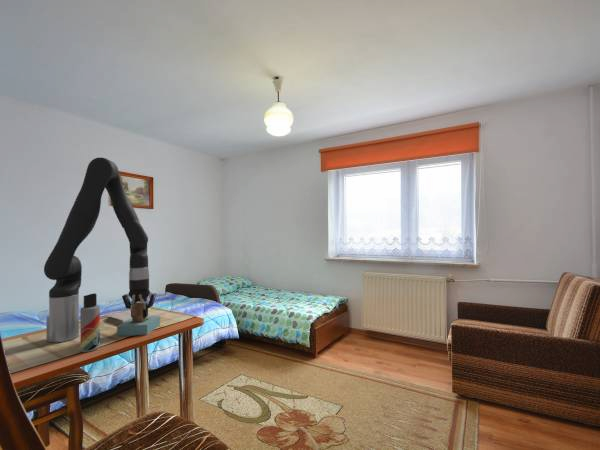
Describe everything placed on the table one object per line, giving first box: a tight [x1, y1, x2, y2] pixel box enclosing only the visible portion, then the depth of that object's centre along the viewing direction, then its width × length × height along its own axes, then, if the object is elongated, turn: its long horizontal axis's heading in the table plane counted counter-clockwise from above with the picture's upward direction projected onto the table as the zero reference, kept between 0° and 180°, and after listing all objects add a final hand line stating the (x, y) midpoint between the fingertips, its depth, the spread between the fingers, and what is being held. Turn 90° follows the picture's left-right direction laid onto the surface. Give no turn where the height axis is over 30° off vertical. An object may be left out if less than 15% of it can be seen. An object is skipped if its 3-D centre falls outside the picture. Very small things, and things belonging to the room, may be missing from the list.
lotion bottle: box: [79, 292, 101, 353], centre depth 104 cm, size 6×6×20 cm
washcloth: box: [106, 309, 132, 325], centre depth 140 cm, size 12×18×3 cm, turn 58°
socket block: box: [116, 315, 161, 337], centre depth 124 cm, size 12×12×4 cm
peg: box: [132, 302, 148, 323], centre depth 124 cm, size 4×4×10 cm
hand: (139, 317), depth 124 cm, fingers closed on peg, 3 cm apart
